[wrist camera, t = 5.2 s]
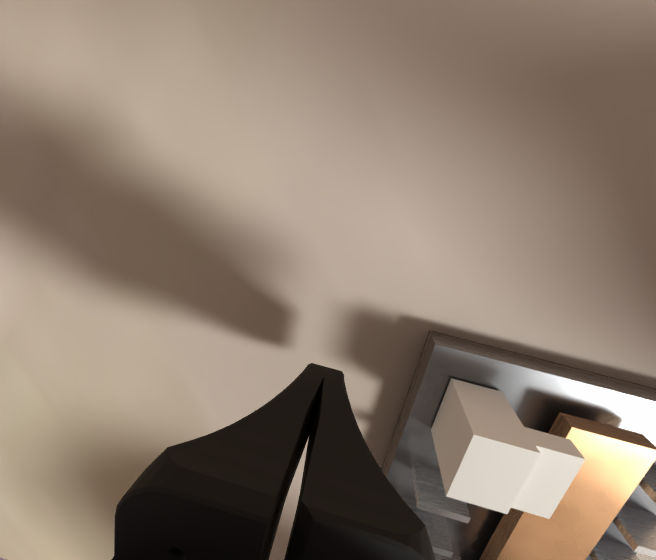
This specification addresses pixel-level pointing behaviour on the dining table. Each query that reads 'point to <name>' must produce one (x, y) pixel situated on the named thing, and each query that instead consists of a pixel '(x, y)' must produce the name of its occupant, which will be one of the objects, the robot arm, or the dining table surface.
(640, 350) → the dining table surface
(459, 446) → the white stepped block
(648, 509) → the heatsink
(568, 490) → the brown flat bar
